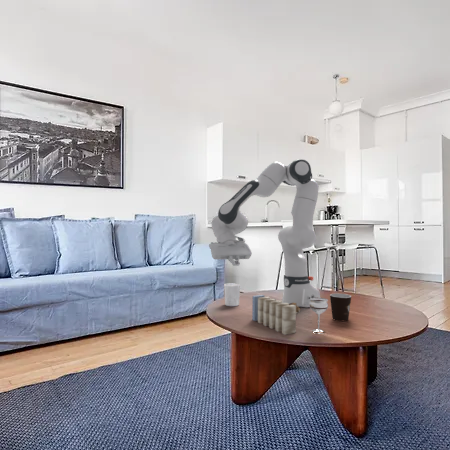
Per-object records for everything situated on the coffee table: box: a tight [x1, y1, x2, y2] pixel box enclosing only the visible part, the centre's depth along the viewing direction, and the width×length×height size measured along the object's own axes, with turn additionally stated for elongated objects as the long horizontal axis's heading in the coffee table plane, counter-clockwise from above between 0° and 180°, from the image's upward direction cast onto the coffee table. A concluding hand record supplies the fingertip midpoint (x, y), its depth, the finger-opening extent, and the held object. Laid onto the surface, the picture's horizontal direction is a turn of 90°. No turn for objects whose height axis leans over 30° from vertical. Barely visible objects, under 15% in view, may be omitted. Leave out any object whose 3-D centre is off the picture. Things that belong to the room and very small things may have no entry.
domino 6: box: [281, 305, 297, 335], centre depth 128 cm, size 5×2×10 cm, turn 118°
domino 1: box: [251, 294, 266, 322], centre depth 145 cm, size 5×2×10 cm, turn 118°
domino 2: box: [257, 296, 271, 324], centre depth 142 cm, size 5×2×10 cm, turn 118°
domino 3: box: [262, 298, 277, 327], centre depth 138 cm, size 5×2×10 cm, turn 118°
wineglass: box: [309, 297, 329, 333], centre depth 130 cm, size 7×7×12 cm
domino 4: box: [268, 300, 282, 330], centre depth 135 cm, size 5×2×10 cm, turn 118°
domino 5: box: [274, 303, 289, 332], centre depth 131 cm, size 5×2×10 cm, turn 118°
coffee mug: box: [329, 293, 352, 321], centre depth 148 cm, size 12×9×10 cm
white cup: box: [223, 282, 241, 307], centre depth 171 cm, size 8×8×10 cm
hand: (236, 265), depth 161 cm, fingers closed
